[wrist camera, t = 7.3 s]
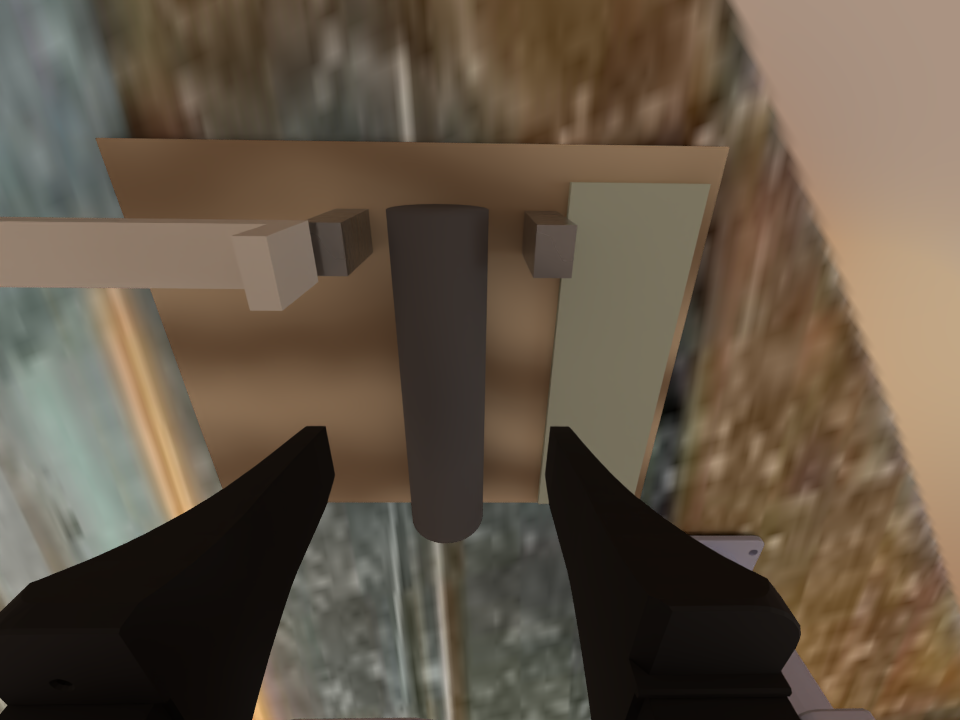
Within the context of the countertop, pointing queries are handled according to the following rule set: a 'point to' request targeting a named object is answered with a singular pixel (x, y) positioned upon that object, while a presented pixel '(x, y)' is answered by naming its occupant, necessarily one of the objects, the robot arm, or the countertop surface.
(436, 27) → the countertop surface
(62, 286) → the beige l-shaped block
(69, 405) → the countertop surface
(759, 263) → the countertop surface
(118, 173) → the board
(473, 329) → the dark grey rod
